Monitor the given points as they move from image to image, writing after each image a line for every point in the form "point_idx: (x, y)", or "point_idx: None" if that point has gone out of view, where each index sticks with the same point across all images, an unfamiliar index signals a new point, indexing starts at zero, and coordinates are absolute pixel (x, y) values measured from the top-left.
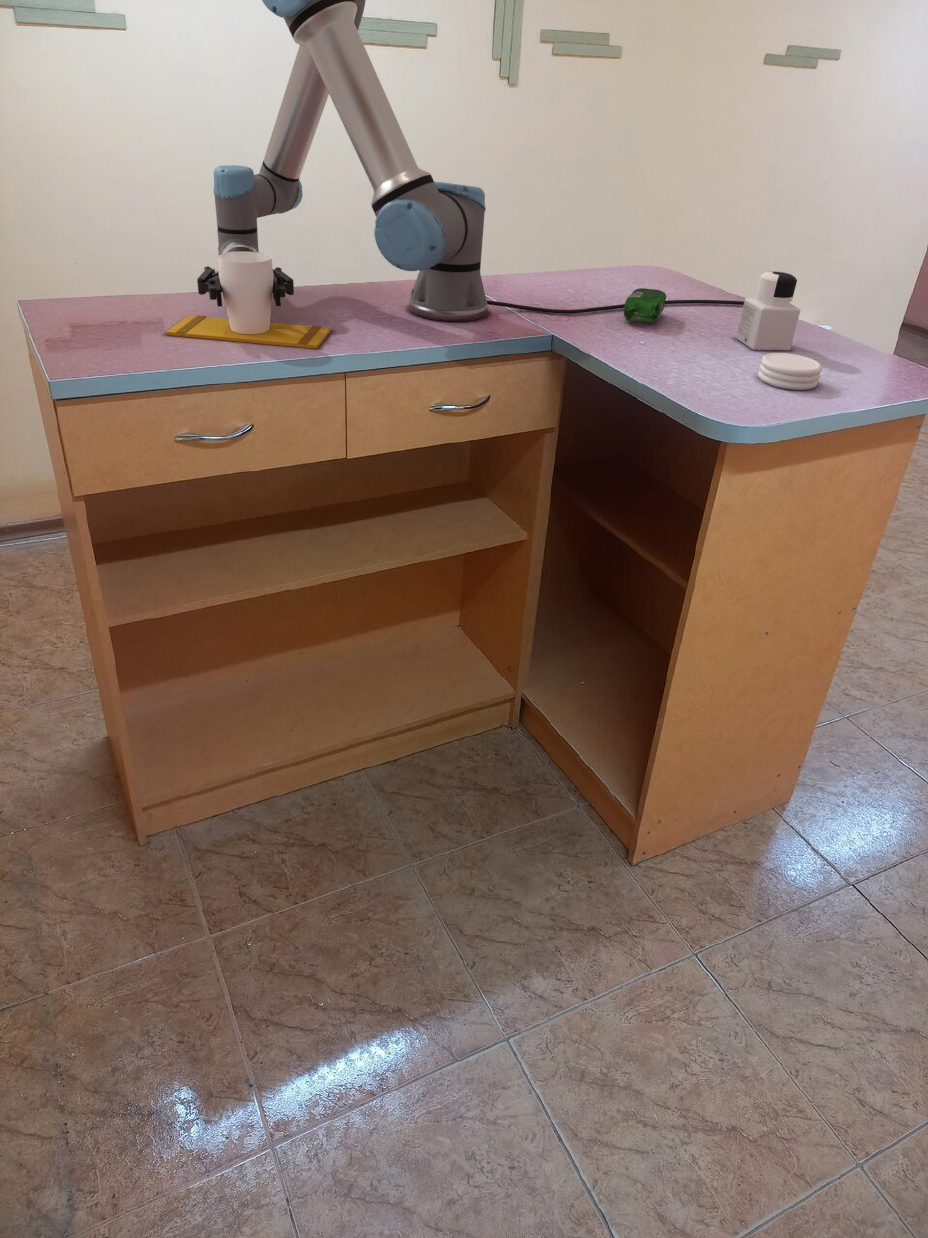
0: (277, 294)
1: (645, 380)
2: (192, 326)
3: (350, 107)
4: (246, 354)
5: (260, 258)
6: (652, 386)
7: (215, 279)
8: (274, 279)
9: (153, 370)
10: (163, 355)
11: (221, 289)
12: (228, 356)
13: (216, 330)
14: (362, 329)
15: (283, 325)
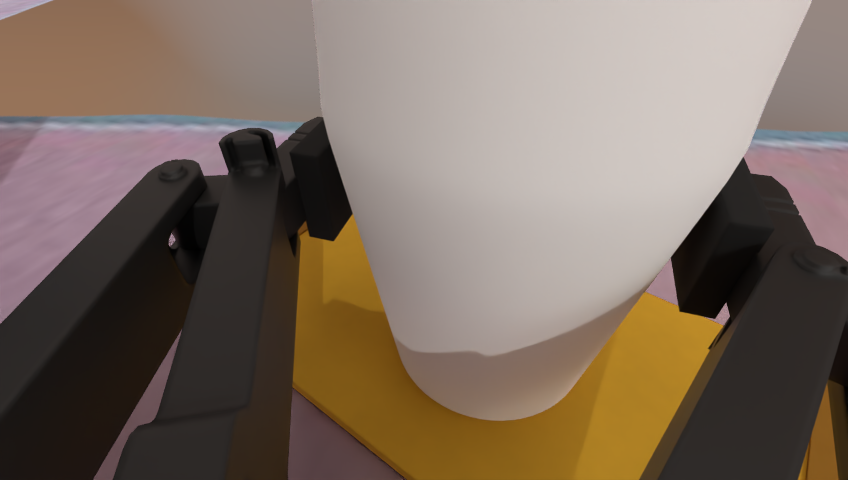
0: None
1: (3, 13)
2: (812, 461)
3: None
4: None
5: (339, 38)
6: (27, 7)
7: (781, 274)
8: (273, 190)
9: (803, 149)
10: (819, 219)
11: (693, 384)
12: None
13: (655, 365)
14: (36, 269)
15: (309, 350)
